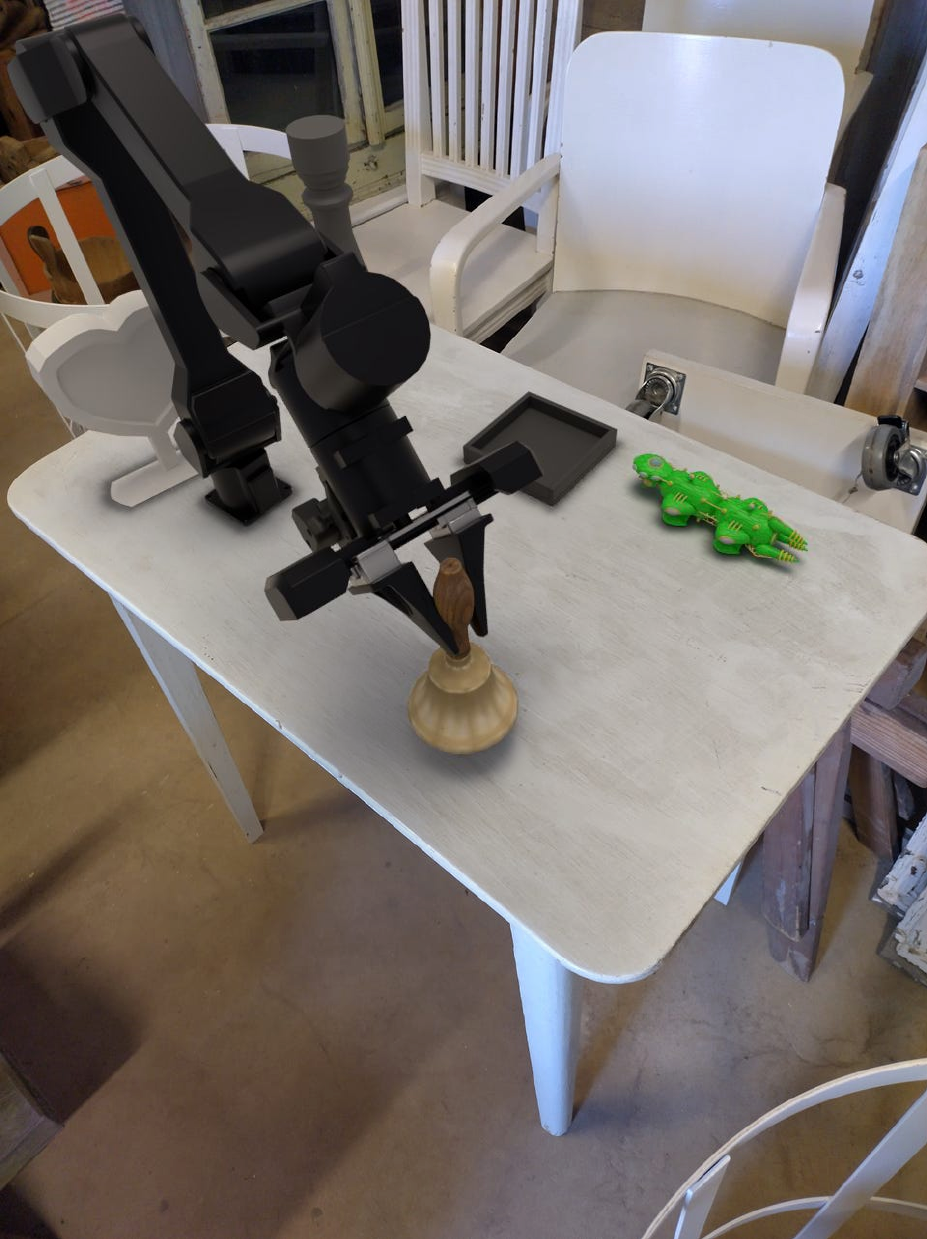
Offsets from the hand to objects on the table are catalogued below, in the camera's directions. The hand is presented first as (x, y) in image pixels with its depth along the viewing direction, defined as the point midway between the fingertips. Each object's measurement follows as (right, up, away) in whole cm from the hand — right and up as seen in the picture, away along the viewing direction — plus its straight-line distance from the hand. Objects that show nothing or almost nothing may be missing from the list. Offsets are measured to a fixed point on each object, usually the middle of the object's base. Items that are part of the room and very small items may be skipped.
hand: (469, 644), depth 53 cm
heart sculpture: (-31, +17, +33) cm, 48 cm away
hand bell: (0, -5, +8) cm, 9 cm away
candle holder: (-13, +33, +44) cm, 56 cm away
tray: (+7, +19, +31) cm, 37 cm away
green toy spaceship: (+23, +11, +23) cm, 34 cm away
